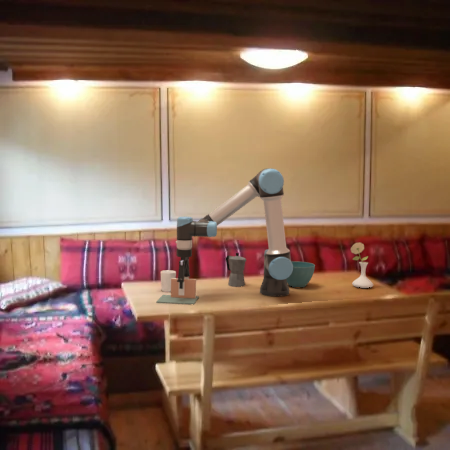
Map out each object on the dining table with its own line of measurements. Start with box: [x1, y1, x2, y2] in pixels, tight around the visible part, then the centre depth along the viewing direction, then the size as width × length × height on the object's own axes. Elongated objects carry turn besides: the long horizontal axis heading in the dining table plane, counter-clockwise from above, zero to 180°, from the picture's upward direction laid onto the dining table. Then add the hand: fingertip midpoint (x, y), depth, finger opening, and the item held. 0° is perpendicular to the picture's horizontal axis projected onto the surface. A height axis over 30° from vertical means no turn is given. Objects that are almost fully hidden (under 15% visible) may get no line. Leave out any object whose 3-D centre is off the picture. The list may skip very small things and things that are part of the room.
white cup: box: [160, 269, 177, 293], centre depth 310 cm, size 8×8×10 cm
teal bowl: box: [286, 261, 316, 288], centre depth 329 cm, size 18×18×12 cm
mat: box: [156, 294, 199, 305], centre depth 290 cm, size 18×15×1 cm
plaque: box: [170, 277, 197, 298], centre depth 293 cm, size 12×2×9 cm, turn 84°
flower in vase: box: [350, 242, 374, 289], centre depth 330 cm, size 13×11×25 cm
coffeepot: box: [225, 252, 247, 288], centre depth 328 cm, size 15×9×18 cm, turn 44°
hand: (183, 292), depth 294 cm, fingers open, 11 cm apart
